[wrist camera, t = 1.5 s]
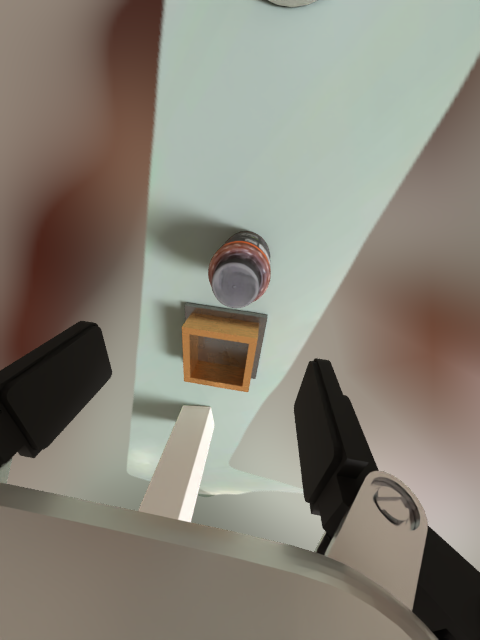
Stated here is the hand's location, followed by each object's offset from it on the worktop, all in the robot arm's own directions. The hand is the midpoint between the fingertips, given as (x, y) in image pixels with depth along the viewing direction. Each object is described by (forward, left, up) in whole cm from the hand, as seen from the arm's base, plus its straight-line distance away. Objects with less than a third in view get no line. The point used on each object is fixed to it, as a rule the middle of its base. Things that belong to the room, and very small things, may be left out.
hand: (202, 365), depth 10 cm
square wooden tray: (+14, -2, -20) cm, 25 cm away
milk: (+34, -6, -21) cm, 40 cm away
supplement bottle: (0, 0, -21) cm, 21 cm away
